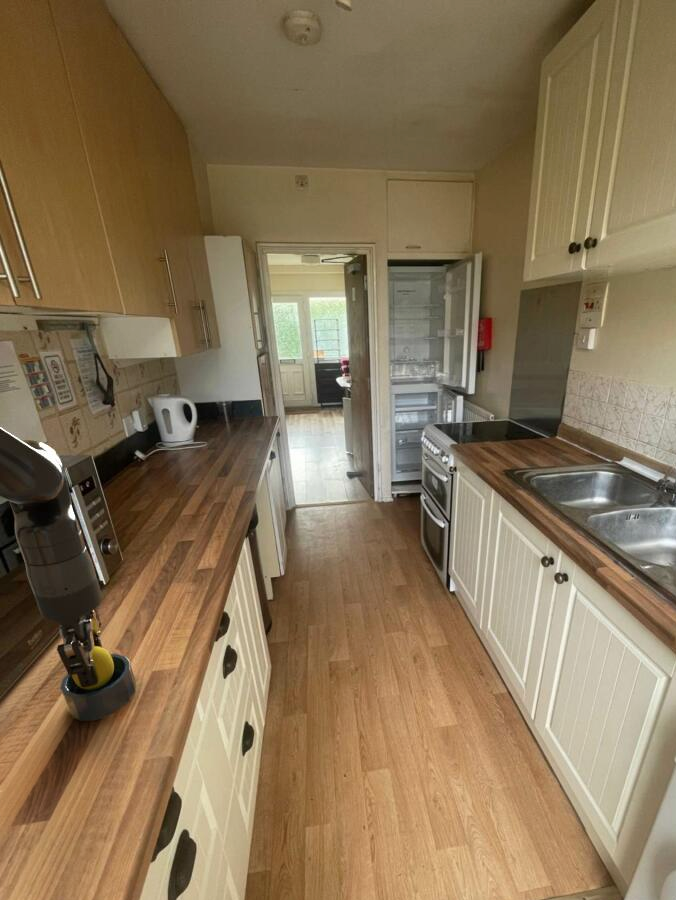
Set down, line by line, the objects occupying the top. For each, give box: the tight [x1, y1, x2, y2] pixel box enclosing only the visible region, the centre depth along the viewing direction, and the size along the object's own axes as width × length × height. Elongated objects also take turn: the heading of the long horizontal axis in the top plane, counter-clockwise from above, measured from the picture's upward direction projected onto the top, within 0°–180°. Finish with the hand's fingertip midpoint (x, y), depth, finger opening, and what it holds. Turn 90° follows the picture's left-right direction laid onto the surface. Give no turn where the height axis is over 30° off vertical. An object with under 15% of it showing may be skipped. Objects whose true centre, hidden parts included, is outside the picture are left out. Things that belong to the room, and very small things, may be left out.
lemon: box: [72, 646, 114, 690], centre depth 68 cm, size 6×6×8 cm
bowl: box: [59, 653, 137, 722], centre depth 70 cm, size 9×9×6 cm
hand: (93, 670), depth 68 cm, fingers closed on lemon, 5 cm apart
